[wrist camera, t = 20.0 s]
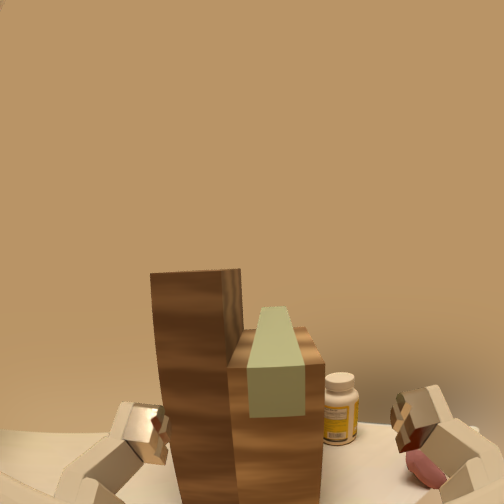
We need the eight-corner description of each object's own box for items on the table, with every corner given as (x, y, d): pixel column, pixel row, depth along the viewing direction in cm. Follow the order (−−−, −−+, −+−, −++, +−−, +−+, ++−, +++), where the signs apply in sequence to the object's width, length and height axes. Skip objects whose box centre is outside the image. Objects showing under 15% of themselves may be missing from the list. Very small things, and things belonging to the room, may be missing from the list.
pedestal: (318, 507, 23) (322, 265, 24) (183, 506, 24) (150, 273, 25) (305, 437, 39) (302, 265, 40) (209, 438, 40) (195, 270, 41)
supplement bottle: (341, 424, 42) (343, 367, 42) (363, 437, 37) (368, 377, 37) (311, 435, 40) (312, 376, 40) (332, 450, 35) (335, 387, 35)
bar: (305, 415, 15) (304, 365, 15) (249, 417, 15) (246, 368, 16) (286, 329, 39) (285, 306, 39) (263, 330, 39) (261, 307, 39)
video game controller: (434, 454, 30) (420, 414, 32) (464, 445, 27) (451, 403, 30) (409, 497, 23) (393, 453, 25) (446, 490, 20) (432, 443, 23)
